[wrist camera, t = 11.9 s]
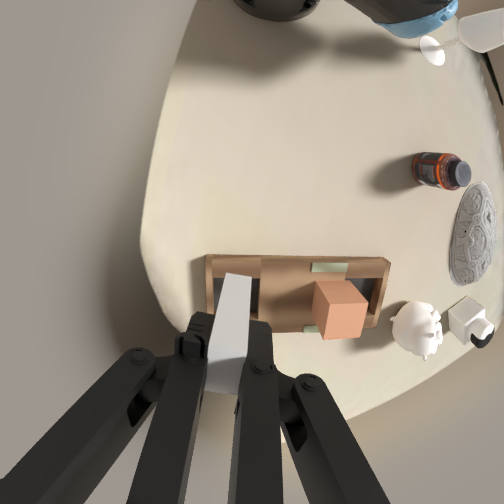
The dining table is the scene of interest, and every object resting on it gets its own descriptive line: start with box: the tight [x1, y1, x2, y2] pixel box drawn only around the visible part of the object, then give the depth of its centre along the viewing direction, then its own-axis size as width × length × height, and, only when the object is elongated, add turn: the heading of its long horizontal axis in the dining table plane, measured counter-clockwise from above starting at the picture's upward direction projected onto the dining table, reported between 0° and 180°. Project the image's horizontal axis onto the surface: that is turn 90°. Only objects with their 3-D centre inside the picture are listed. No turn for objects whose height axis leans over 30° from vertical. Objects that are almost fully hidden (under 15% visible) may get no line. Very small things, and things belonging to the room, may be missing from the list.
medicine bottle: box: [448, 296, 494, 348], centre depth 48 cm, size 7×7×12 cm
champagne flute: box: [419, 8, 504, 66], centre depth 24 cm, size 7×7×24 cm
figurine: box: [390, 301, 443, 361], centre depth 47 cm, size 10×10×12 cm
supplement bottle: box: [412, 152, 471, 190], centre depth 38 cm, size 6×6×11 cm
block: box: [311, 280, 368, 340], centre depth 43 cm, size 6×6×8 cm
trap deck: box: [205, 254, 391, 333], centre depth 48 cm, size 13×31×3 cm, turn 88°
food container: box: [450, 181, 497, 286], centre depth 46 cm, size 16×25×7 cm, turn 4°
